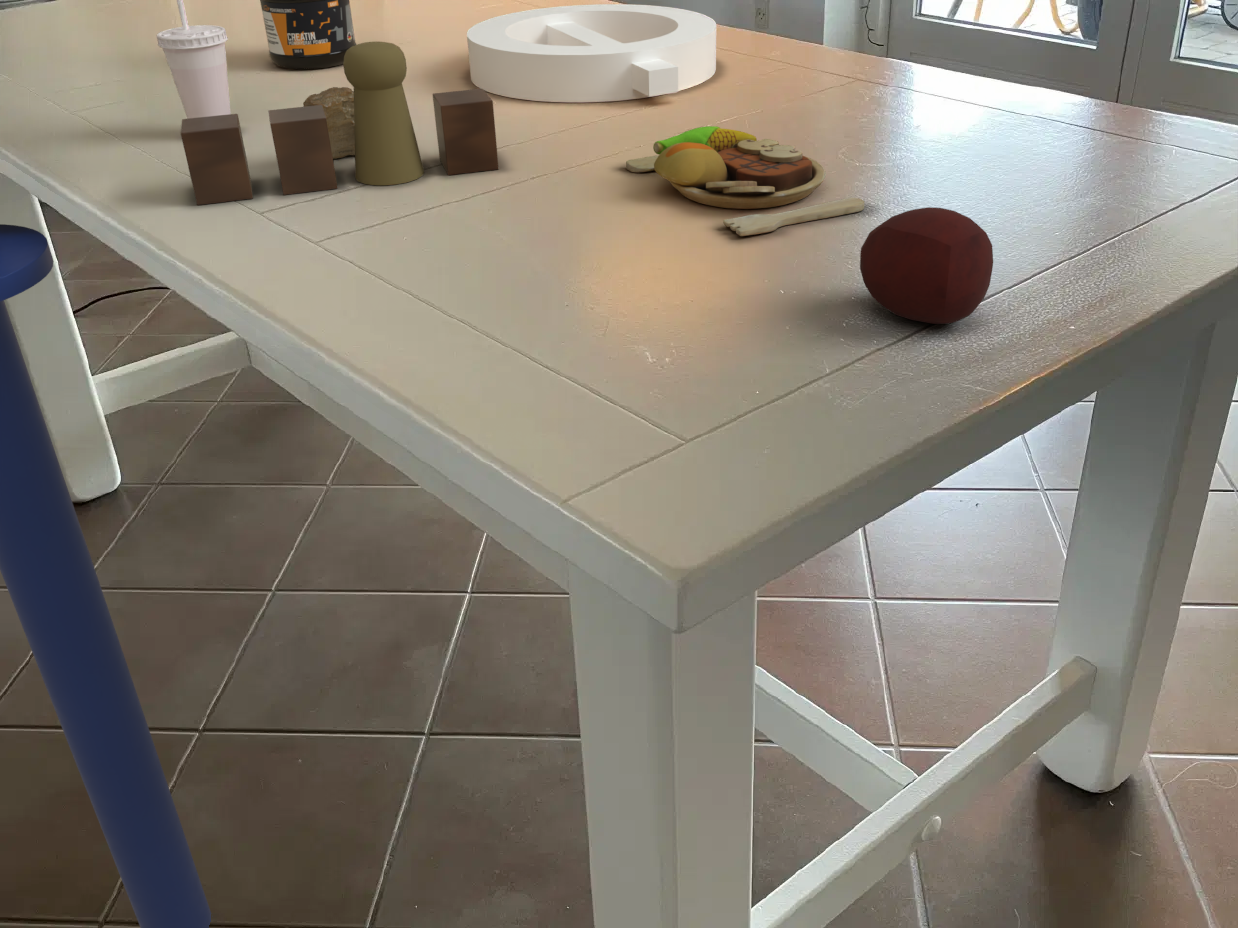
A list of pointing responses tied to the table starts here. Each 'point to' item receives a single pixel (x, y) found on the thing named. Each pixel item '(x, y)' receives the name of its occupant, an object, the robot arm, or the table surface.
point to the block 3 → (465, 131)
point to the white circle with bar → (592, 52)
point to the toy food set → (742, 176)
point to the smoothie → (198, 66)
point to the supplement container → (308, 32)
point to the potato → (928, 265)
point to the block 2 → (303, 149)
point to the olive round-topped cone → (381, 115)
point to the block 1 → (216, 159)
